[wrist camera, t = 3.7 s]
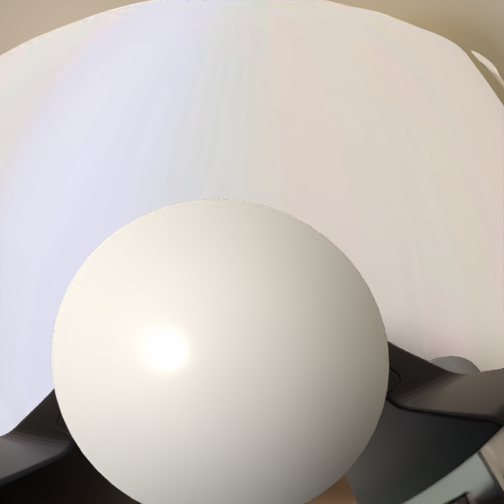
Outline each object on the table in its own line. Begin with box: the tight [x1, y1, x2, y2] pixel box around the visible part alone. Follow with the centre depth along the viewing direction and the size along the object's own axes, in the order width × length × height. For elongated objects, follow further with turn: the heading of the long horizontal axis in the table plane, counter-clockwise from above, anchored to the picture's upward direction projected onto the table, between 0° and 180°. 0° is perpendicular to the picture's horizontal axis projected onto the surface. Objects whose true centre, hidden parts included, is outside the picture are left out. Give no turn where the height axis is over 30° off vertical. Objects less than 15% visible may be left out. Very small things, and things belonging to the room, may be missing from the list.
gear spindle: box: [51, 199, 389, 504], centre depth 9 cm, size 10×9×13 cm
